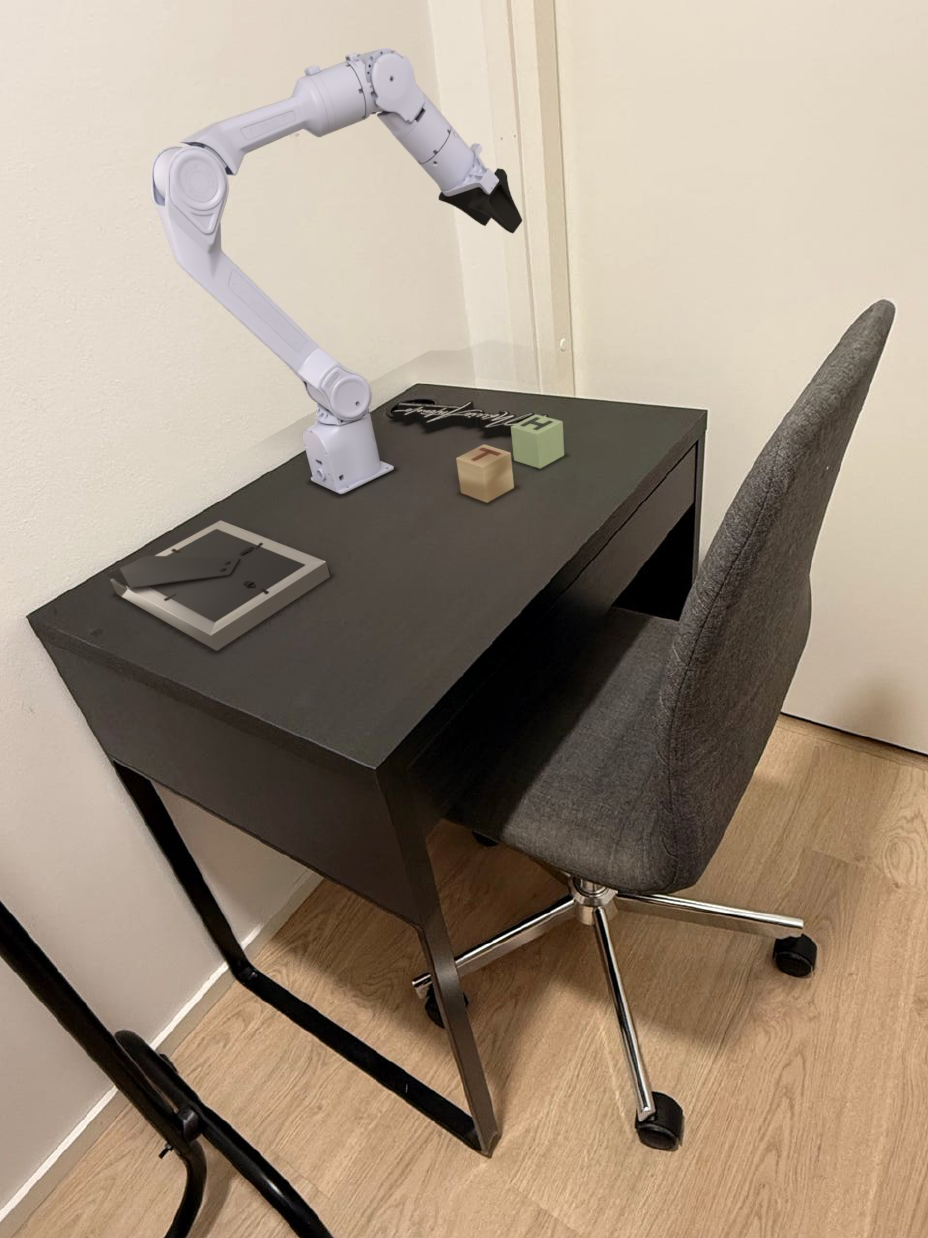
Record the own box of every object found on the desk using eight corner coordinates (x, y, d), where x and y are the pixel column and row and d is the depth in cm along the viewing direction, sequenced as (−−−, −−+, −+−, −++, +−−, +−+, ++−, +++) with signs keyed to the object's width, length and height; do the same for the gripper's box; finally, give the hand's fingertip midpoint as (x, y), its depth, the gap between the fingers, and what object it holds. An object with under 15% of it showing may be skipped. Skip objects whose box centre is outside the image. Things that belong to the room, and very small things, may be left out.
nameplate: (558, 405, 115) (534, 431, 108) (559, 414, 116) (534, 441, 109) (406, 397, 127) (375, 420, 120) (407, 405, 127) (377, 429, 121)
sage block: (540, 468, 101) (537, 433, 98) (513, 460, 104) (510, 425, 102) (564, 455, 104) (562, 420, 101) (538, 447, 107) (535, 413, 104)
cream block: (486, 503, 95) (482, 466, 92) (460, 493, 98) (455, 457, 95) (514, 487, 98) (510, 451, 95) (488, 478, 101) (483, 443, 98)
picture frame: (117, 594, 89) (217, 651, 77) (107, 574, 87) (208, 629, 75) (225, 534, 98) (330, 576, 86) (218, 515, 96) (324, 555, 84)
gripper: (481, 115, 86) (549, 202, 95) (428, 113, 96) (494, 191, 105) (444, 169, 87) (515, 250, 96) (396, 161, 98) (464, 234, 107)
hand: (502, 222), depth 101 cm, fingers open, 7 cm apart
